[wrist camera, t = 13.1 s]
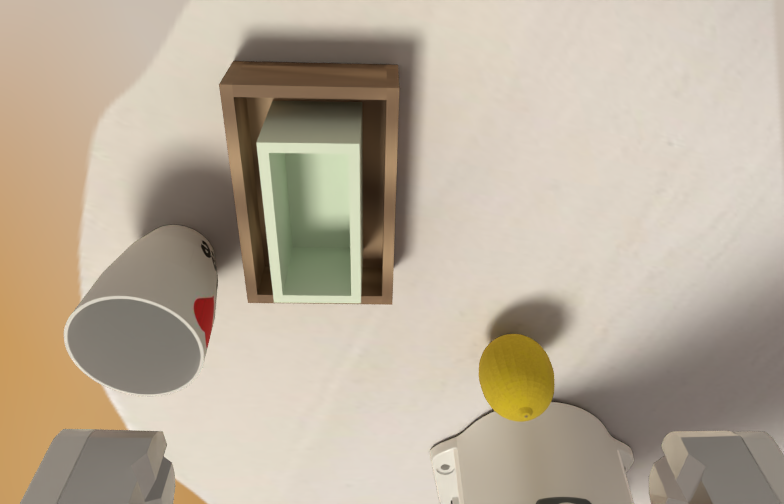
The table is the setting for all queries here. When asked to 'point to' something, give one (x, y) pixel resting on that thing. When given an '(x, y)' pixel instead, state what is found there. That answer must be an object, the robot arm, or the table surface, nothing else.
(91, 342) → the cup
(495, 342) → the lemon
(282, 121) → the sage crate
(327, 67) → the walnut crate
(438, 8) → the table surface
